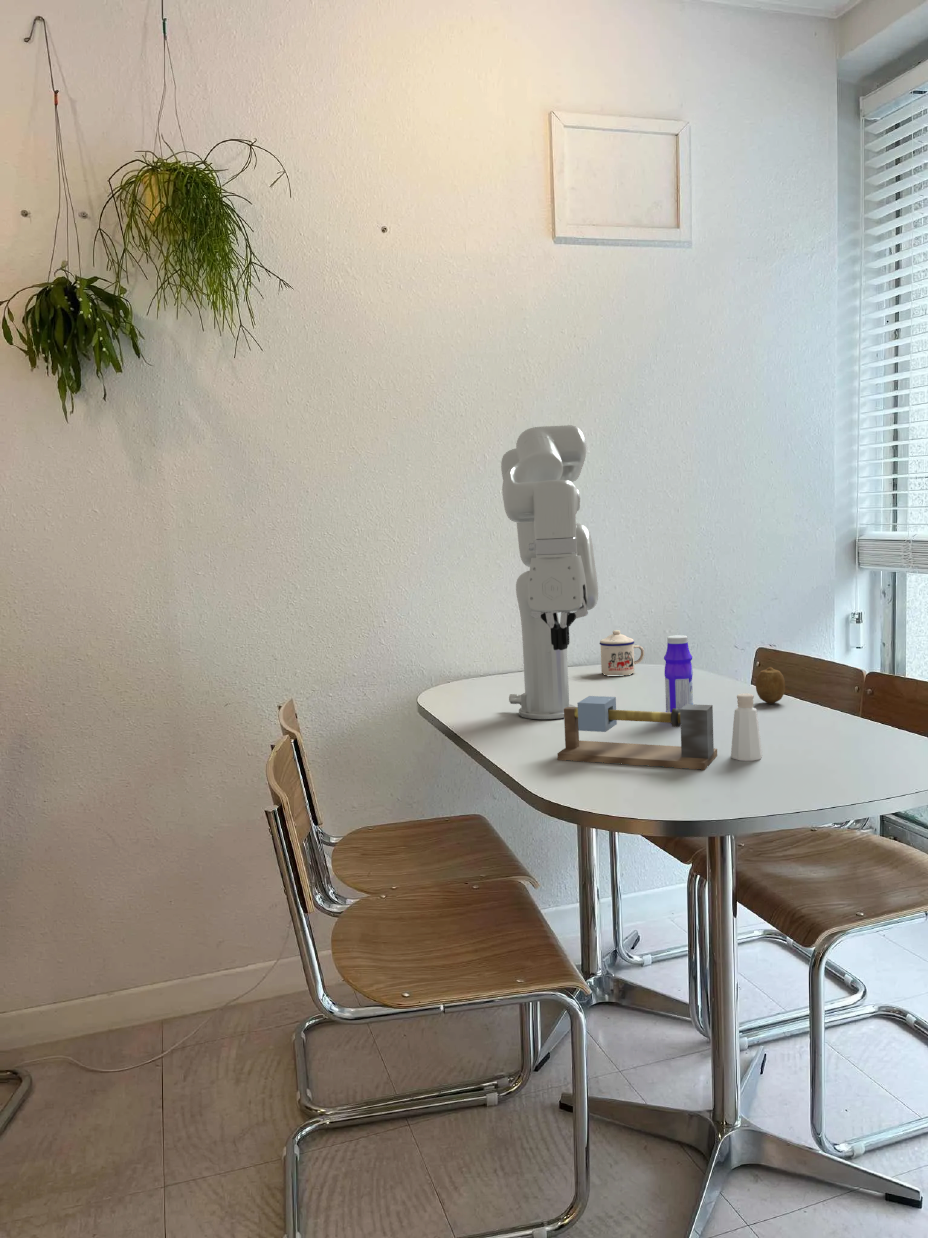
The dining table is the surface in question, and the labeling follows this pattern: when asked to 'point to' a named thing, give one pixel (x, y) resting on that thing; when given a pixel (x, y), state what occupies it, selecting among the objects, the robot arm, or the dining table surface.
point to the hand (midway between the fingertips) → (560, 648)
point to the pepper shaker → (746, 731)
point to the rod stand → (690, 754)
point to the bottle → (678, 673)
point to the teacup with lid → (618, 654)
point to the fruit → (770, 685)
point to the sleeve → (596, 713)
